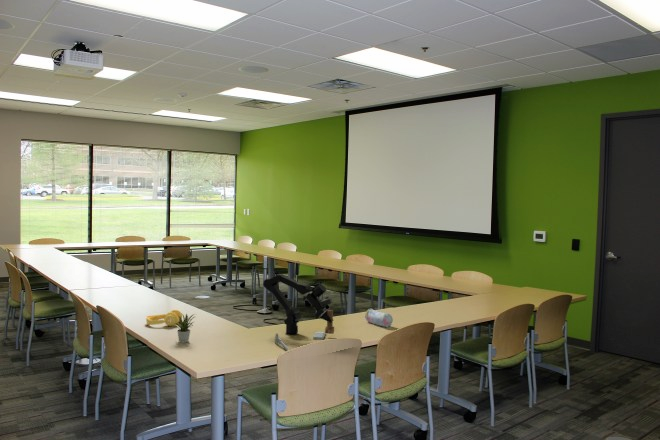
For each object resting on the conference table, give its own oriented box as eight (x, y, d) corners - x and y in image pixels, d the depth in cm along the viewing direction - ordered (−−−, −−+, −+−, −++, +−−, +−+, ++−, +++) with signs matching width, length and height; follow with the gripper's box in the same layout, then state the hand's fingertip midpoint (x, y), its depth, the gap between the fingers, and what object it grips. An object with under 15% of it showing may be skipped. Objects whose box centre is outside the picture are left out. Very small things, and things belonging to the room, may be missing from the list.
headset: (151, 320, 342) (152, 306, 342) (183, 322, 342) (184, 308, 342) (141, 327, 324) (142, 312, 324) (175, 328, 324) (176, 314, 324)
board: (313, 338, 304) (313, 336, 304) (315, 333, 317) (315, 331, 317) (323, 339, 304) (323, 337, 304) (325, 333, 317) (325, 331, 316)
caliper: (274, 344, 292) (274, 332, 292) (276, 343, 293) (276, 332, 293) (289, 353, 274) (289, 341, 274) (291, 353, 275) (291, 341, 275)
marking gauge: (324, 333, 304) (325, 311, 303) (325, 331, 310) (326, 309, 309) (333, 334, 303) (334, 312, 303) (334, 331, 309) (334, 310, 309)
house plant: (203, 339, 298) (203, 310, 298) (191, 345, 285) (192, 315, 284) (180, 337, 302) (181, 309, 301) (168, 343, 288) (168, 314, 288)
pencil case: (364, 322, 351) (364, 308, 351) (374, 320, 356) (374, 307, 356) (383, 328, 334) (383, 314, 333) (393, 327, 338) (394, 313, 338)
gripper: (320, 295, 298) (338, 316, 296) (327, 290, 316) (345, 309, 314) (307, 308, 300) (325, 328, 298) (315, 302, 318) (332, 321, 316)
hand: (332, 321), depth 306 cm, fingers closed on marking gauge, 3 cm apart
